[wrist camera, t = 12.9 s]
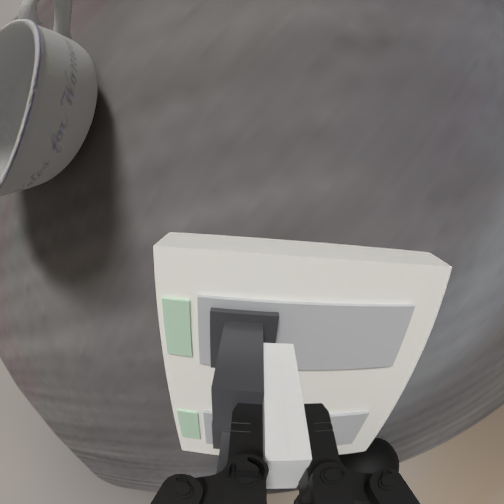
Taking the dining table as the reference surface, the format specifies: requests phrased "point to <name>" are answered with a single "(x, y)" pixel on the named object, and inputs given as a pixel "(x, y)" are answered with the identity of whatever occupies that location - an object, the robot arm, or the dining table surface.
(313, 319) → the breaker panel
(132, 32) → the dining table surface
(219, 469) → the breaker handle
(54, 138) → the teacup
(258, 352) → the breaker handle
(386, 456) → the cola bottle
